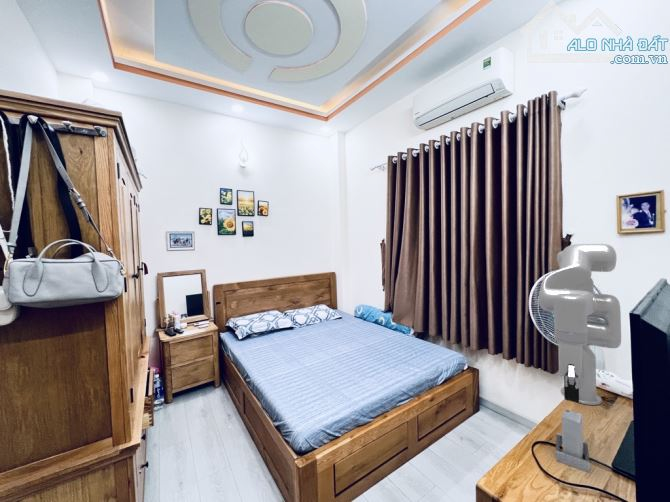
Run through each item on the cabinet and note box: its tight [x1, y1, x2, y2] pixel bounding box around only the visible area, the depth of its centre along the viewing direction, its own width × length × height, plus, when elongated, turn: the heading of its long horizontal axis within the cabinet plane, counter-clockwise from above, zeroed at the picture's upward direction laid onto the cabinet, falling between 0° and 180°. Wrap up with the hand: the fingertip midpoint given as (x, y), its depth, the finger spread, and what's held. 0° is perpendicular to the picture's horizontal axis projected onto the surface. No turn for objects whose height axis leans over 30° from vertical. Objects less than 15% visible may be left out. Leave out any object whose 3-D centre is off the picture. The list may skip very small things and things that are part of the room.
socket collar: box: [555, 432, 591, 473], centre depth 85 cm, size 11×7×2 cm
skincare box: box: [561, 409, 585, 460], centre depth 84 cm, size 6×4×12 cm
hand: (571, 393), depth 85 cm, fingers open, 9 cm apart
